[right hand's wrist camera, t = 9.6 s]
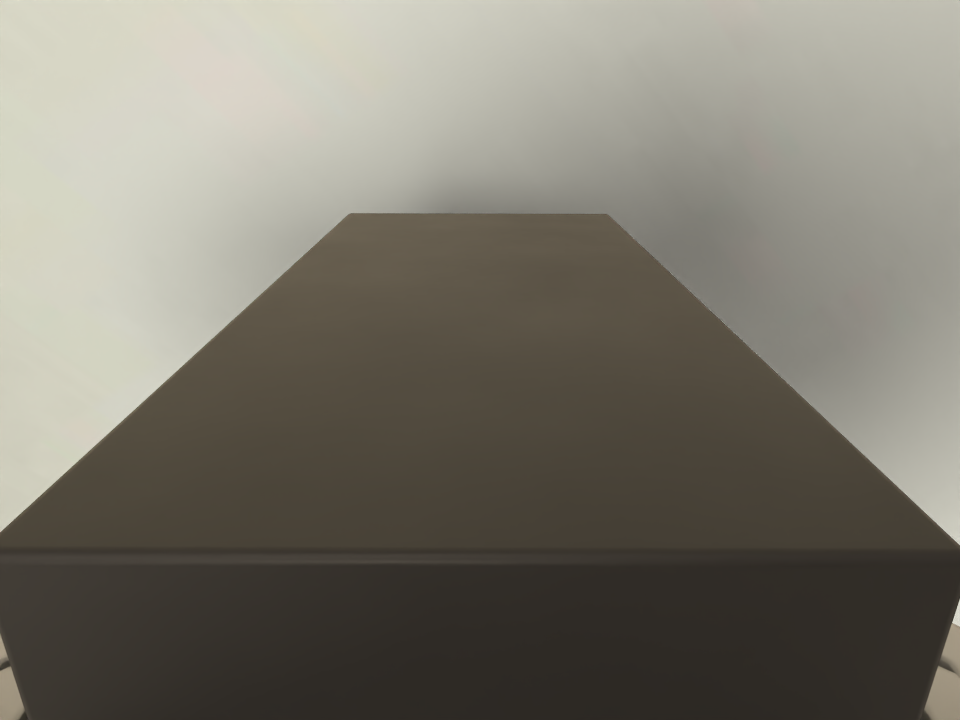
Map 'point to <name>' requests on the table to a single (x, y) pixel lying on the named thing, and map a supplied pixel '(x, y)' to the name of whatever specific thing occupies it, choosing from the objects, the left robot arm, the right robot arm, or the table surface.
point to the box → (475, 509)
